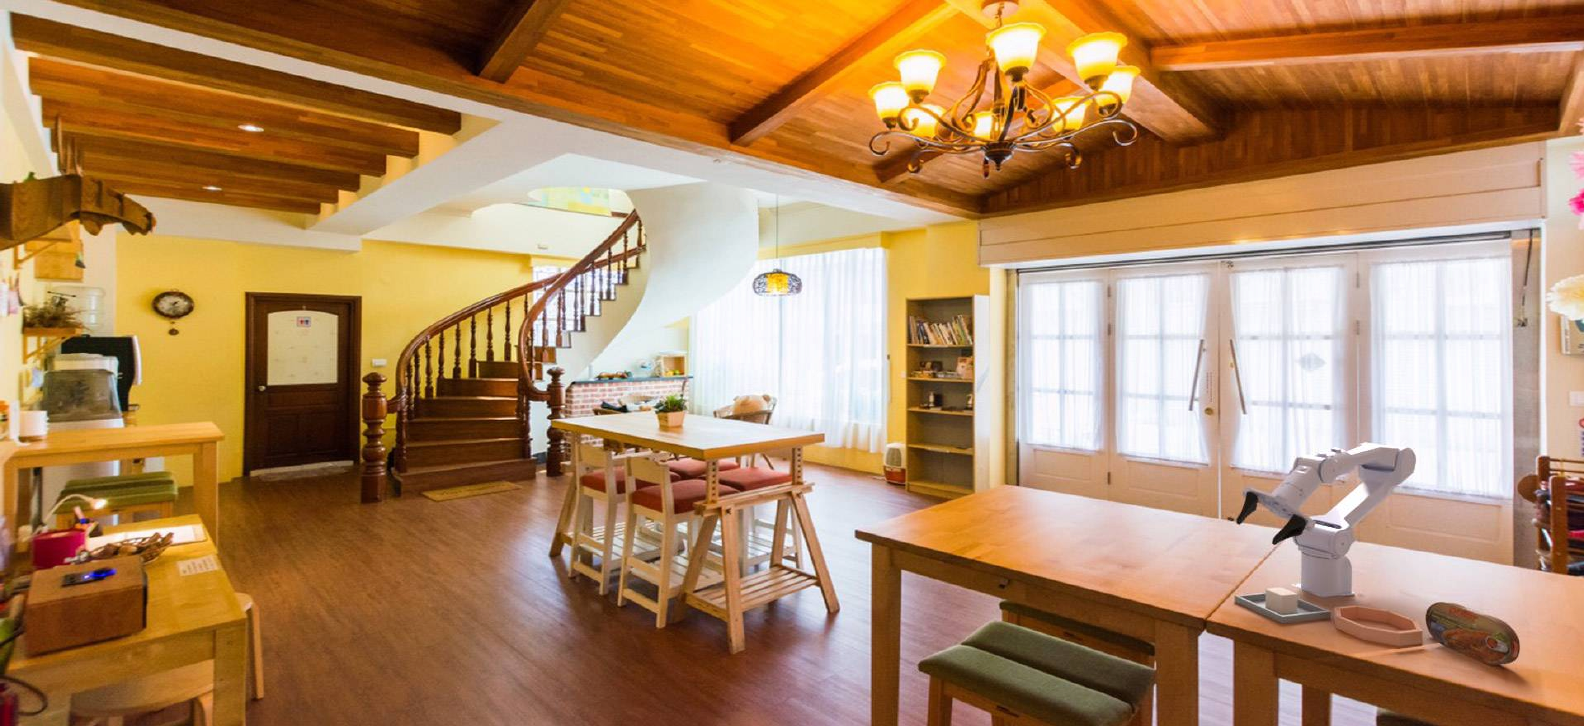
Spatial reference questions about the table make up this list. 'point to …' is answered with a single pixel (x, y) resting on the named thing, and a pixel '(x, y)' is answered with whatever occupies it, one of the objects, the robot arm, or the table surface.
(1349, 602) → the table surface
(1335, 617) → the bowl
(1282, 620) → the parts tray
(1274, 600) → the beige cube
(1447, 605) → the tin
